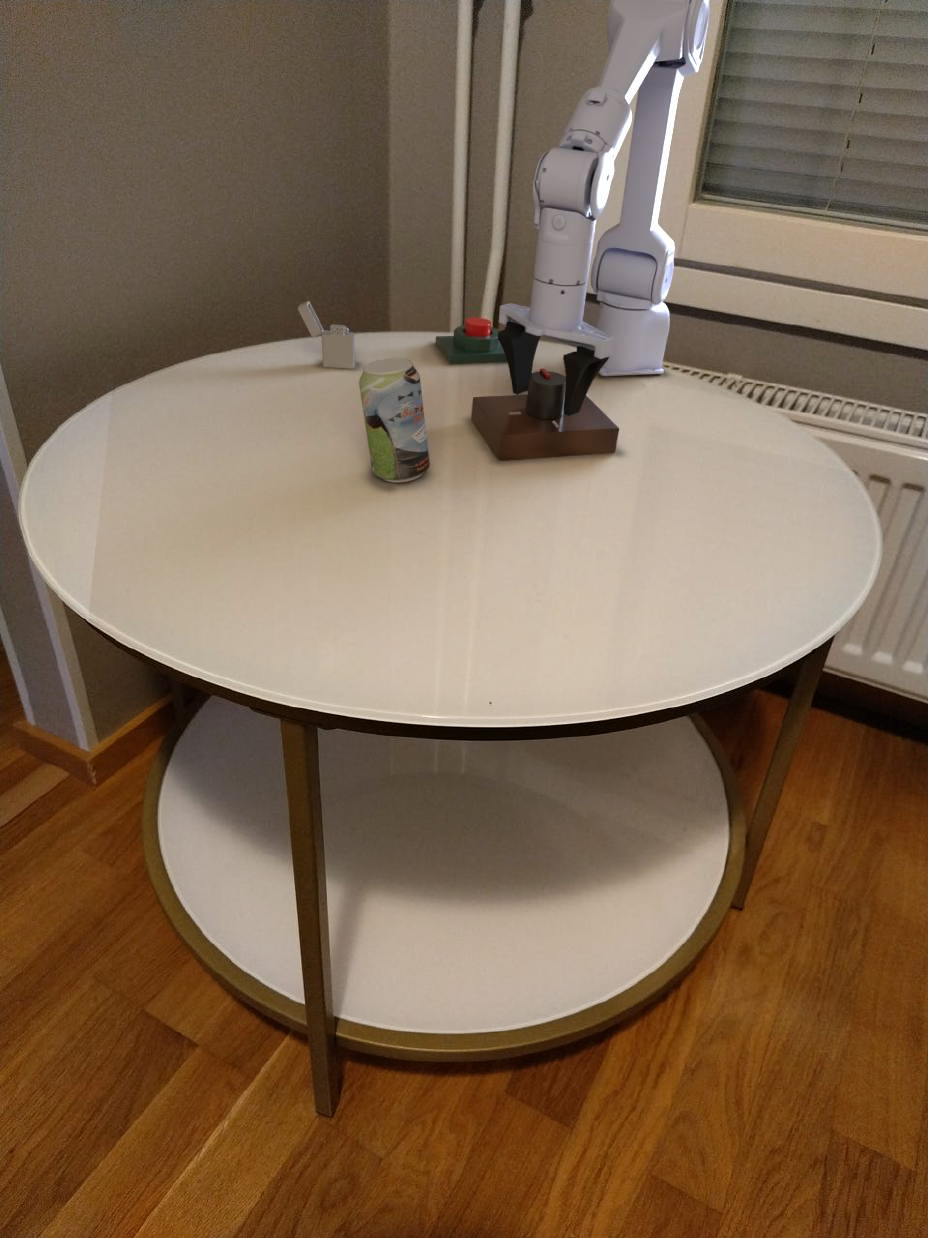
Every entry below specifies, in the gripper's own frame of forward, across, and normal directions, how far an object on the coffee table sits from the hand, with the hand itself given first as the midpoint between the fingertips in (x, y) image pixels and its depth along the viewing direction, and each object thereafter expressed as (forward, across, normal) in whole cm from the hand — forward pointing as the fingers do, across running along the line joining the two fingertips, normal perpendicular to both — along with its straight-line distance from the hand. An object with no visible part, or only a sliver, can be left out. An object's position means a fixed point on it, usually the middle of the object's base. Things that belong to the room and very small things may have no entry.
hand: (545, 402), depth 98 cm
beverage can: (+4, -3, -20) cm, 21 cm away
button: (+2, -24, +15) cm, 28 cm away
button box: (+4, -24, +15) cm, 29 cm away
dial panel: (+4, 0, 0) cm, 4 cm away
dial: (+1, 0, 0) cm, 1 cm away
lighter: (+4, -33, -5) cm, 34 cm away
